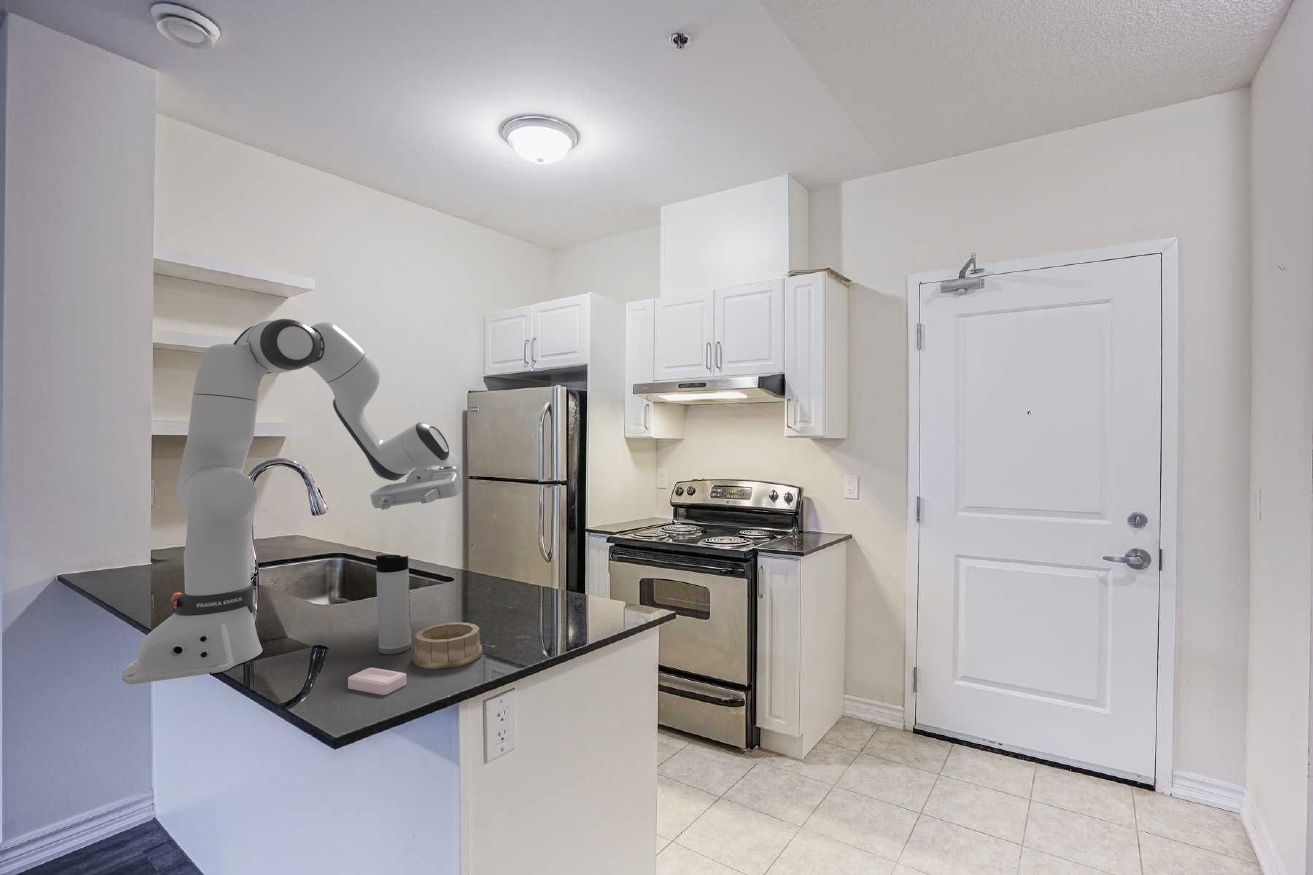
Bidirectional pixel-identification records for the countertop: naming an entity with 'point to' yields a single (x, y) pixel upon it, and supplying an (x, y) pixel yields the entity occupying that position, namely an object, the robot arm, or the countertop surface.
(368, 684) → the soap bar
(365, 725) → the countertop surface
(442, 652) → the cup holder
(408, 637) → the travel mug
